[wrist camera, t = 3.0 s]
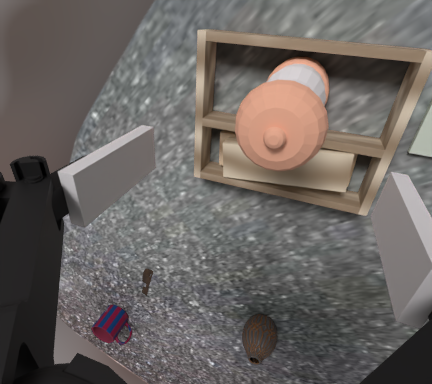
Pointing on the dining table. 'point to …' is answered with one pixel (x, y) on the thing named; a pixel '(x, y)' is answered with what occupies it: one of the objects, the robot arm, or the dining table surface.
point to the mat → (423, 136)
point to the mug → (111, 325)
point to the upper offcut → (302, 176)
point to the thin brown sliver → (146, 279)
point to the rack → (335, 140)
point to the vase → (259, 338)
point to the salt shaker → (285, 116)
